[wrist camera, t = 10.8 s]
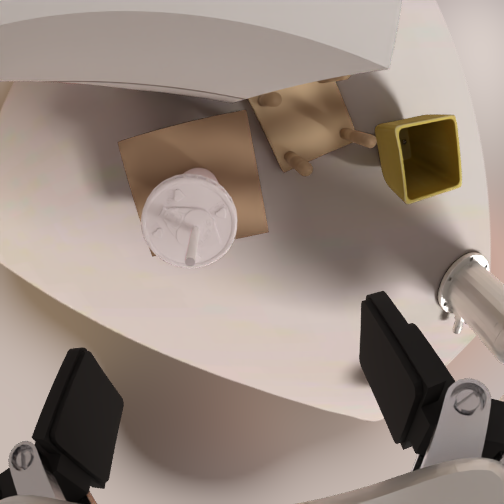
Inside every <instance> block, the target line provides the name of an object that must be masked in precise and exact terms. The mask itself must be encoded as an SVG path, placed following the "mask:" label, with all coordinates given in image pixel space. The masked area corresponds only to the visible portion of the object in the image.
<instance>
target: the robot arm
mask: <svg viewBox="0 0 504 504" xmlns="http://www.w3.org/2000/svg"><path fill="white" fill-rule="evenodd" d="M438 302H439V304H440V306H441V307H442V309H443V310H444V311H445V312H448V313H454V315H455V320H456V321H455V323H454V326H453V332H454V333H456V334H459V333H460V332H461V330H462V327H463V322H465V324H468V325H469V327H470V328H471V329H472V330H473V331H474V332H475V334H476V335H477V336H478V337H479V338H480V340H481V341H482V342H483V343H484V344H485V346H486V347H487V348H488V349H489V350H490V352H491V353H492V354H493V355H494V357H495V358H496V359H497V360H498V361H499V362H500V363H501V364H503V365H504V284H503V283H502V282H501V281H500V280H498V279H497V278H496V277H495V276H494V275H493V274H491V273H490V272H489V265H488V262H487V259H486V258H485V257H484V256H483V255H481V254H480V253H477V252H472V253H468V254H466V255H464V256H462V257H461V258H459V259H458V260H457V261H456V262H454V263H453V265H452V266H451V267H450V268H449V269H448V271H447V272H446V274H445V276H444V277H443V279H442V282H441V284H440V287H439V291H438ZM359 359H360V364H361V367H362V370H363V372H364V374H365V376H366V378H367V380H368V383H369V385H370V387H371V389H372V392H373V394H374V396H375V398H376V401H377V403H378V405H379V407H380V410H381V412H382V414H383V416H384V419H385V421H386V423H387V426H388V428H389V430H390V433H391V435H392V437H393V440H394V442H395V443H396V444H398V443H401V445H402V448H403V450H404V449H406V448H409V447H411V446H412V447H413V449H414V451H415V453H416V454H418V455H417V458H416V460H415V463H414V465H413V468H412V470H411V472H409V473H406V474H403V475H401V476H397V477H395V478H391V479H388V480H385V481H383V482H379V483H377V484H373V485H370V486H367V487H363V488H360V489H356V490H353V491H349V492H345V493H341V494H338V495H334V496H330V497H326V498H321V499H317V500H313V501H307V502H303V503H297V504H504V395H503V396H502V397H501V398H500V399H499V400H494V399H491V395H490V392H489V390H488V388H487V387H486V386H485V385H484V384H483V383H481V382H480V381H478V380H475V379H461V380H458V381H456V382H455V380H454V379H453V377H452V376H451V374H450V373H449V371H448V370H447V368H446V367H445V365H444V364H443V362H442V361H441V359H440V358H439V356H438V355H437V354H436V352H435V351H434V349H433V348H432V346H431V345H430V344H429V342H428V341H427V339H426V338H425V337H424V335H423V334H422V332H421V331H420V330H419V328H418V327H417V326H416V325H415V324H413V323H411V324H408V323H407V321H406V320H405V318H404V317H403V316H402V314H401V313H400V312H399V310H398V309H397V307H396V306H395V305H394V303H393V302H392V301H391V299H390V298H389V297H388V295H387V294H386V293H385V292H384V291H381V292H377V293H373V294H370V295H367V296H366V300H364V301H362V303H361V334H360V355H359ZM123 406H124V405H123V399H122V397H121V396H120V394H119V393H118V392H117V390H116V389H115V388H114V386H113V385H112V383H111V382H110V381H109V379H108V378H107V376H106V375H105V373H104V372H103V370H102V369H101V367H100V366H99V364H98V363H97V361H96V360H95V358H94V356H93V355H92V353H91V352H89V351H87V349H85V348H74V349H70V350H69V351H68V352H67V355H66V357H65V359H64V361H63V363H62V365H61V367H60V370H59V372H58V374H57V376H56V379H55V381H54V383H53V385H52V388H51V390H50V392H49V395H48V397H47V400H46V402H45V405H44V407H43V409H42V412H41V414H40V417H39V420H38V422H37V425H36V427H35V430H34V433H33V436H32V438H33V439H34V440H35V441H36V442H35V445H34V444H33V443H31V442H29V441H23V442H20V443H18V444H17V445H16V446H14V448H13V449H12V450H11V453H10V455H9V467H10V468H8V469H7V470H5V471H4V472H3V473H1V474H0V504H97V503H96V501H95V500H94V498H93V496H92V494H91V493H90V491H89V488H90V486H92V487H95V488H103V489H104V488H105V483H106V482H107V481H108V480H109V475H110V470H111V464H112V459H113V454H114V449H115V443H116V439H117V433H118V429H119V424H120V420H121V415H122V411H123Z"/></svg>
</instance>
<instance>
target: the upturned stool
mask: <svg viewBox="0 0 504 504" xmlns="http://www.w3.org/2000/svg"><path fill="white" fill-rule="evenodd" d="M349 77H350V75H346V76H341V77H335V78H330V79H325V80H320V81H315V82H311V83H306V84H301V85H297V86H293V87H289V88H285V89H281V90H277V91H273V92H269V93H265V94H262V95H258V96H254V97H251V98H248V101H249V103H250V105H251V107H252V109H253V111H254V113H255V115H256V117H257V119H258V121H259V123H260V125H261V127H262V129H263V131H264V133H265V135H266V137H267V139H268V142H269V144H270V146H271V148H272V150H273V152H274V154H275V157H276V159H277V161H278V163H279V165H280V167H281V170H282V171H283V172H287V171H289V170H291V169H293V168H294V169H295V170H296V171H297V172H298V173H299V174H300V175H302V176H309V175H310V174H311V173H312V171H313V167H312V165H311V164H310V163H309V161H311V160H313V159H316V158H318V157H320V156H322V155H325V154H327V153H329V152H332V151H334V150H336V149H339V148H341V147H343V146H346V145H348V144H350V143H353V142H354V143H356V144H359V145H362V146H365V147H368V148H373V147H374V146H375V145H376V143H377V140H376V137H375V136H374V135H372V134H368V133H364V132H360V131H356V130H355V129H354V126H353V123H352V121H351V118H350V116H349V113H348V111H347V108H346V106H345V103H344V101H343V98H342V96H341V93H340V91H339V89H338V86H337V84H336V82H335V81H340V80H347V79H348V78H349Z"/></svg>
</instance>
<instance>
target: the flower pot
mask: <svg viewBox="0 0 504 504" xmlns="http://www.w3.org/2000/svg"><path fill="white" fill-rule="evenodd" d="M375 136H376V140H377V145H378V151H379V156H380V162H381V168H382V173H383V176H384V179H385V181H386V183H387V184H388V186H389V187H390V188H391V189H392V190H393V191H394V192H395V193H396V194H397V195H398V196H399V197H400V198H401V199H402V200H403V201H404V202H405V203H406V204H412V203H414V202H417V201H420V200H423V199H426V198H429V197H432V196H435V195H438V194H441V193H444V192H447V191H451V190H453V189H456V188H459V187H461V184H462V171H461V157H460V147H459V137H458V128H457V122H456V118H455V116H454V115H422V116H417V117H412V118H408V119H403V120H398V121H393V122H388V123H382V124H379V125H377V126H376V127H375ZM403 140H405V141H406V143H405V144H403Z"/></svg>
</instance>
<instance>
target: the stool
mask: <svg viewBox="0 0 504 504" xmlns="http://www.w3.org/2000/svg"><path fill="white" fill-rule="evenodd" d="M118 146H119V150H120V153H121V157H122V161H123V164H124V168H125V172H126V175H127V179H128V182H129V186H130V189H131V192H132V196H133V199H134V202H135V205H136V209H137V212H138V215H139V218H140V221H141V215H142V211H143V207H144V205H145V203H146V200H147V198H148V196H149V195H150V194H151V192H152V191H153V189H154V188H155V187H156V186H158V185H159V184H160V183H161V182H162V181H164V180H166V179H168V178H171V177H173V176H175V175H181V174H183V173H185V172H187V171H188V170H190V169H193V168H204V169H207V170H209V171H210V172H211V173H213V175H214V176H215V177H216V179H217V181H218V183H219V184H220V185H221V186H222V187H224V189H225V190H226V191H227V192H228V194H229V195H230V196H231V197H232V200H233V202H234V205H235V207H236V211H237V220H238V221H237V232H236V236H235V239H238V238H243V237H248V236H252V235H257V234H262V233H267V232H269V231H268V225H267V220H266V214H265V208H264V203H263V197H262V192H261V186H260V180H259V175H258V170H257V164H256V159H255V153H254V148H253V143H252V137H251V132H250V127H249V122H248V116H247V111H246V110H241V111H236V112H230V113H225V114H221V115H216V116H211V117H207V118H202V119H198V120H194V121H189V122H185V123H181V124H177V125H173V126H170V127H166V128H162V129H158V130H155V131H151V132H148V133H144V134H141V135H138V136H134V137H131V138H128V139H125V140H122V141H119V142H118ZM150 251H151V254H152V257H153V256H156V255H155V254H154V253H153V252H152V250H151V249H150Z"/></svg>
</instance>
